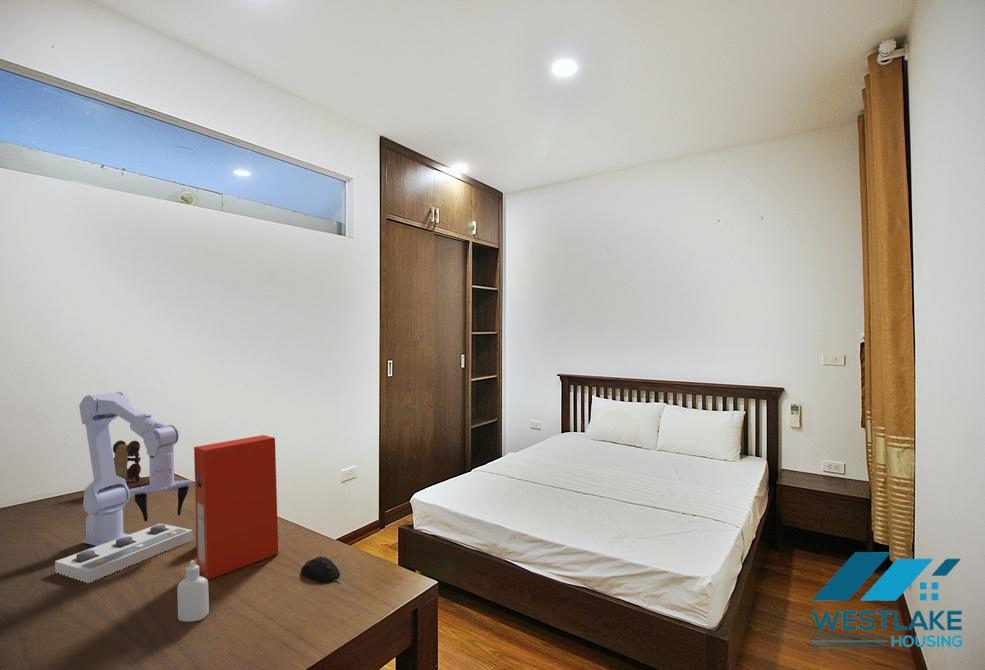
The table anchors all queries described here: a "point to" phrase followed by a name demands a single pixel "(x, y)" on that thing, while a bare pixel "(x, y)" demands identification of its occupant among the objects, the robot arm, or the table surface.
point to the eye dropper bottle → (193, 595)
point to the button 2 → (157, 529)
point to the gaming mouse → (321, 570)
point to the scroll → (122, 460)
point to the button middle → (123, 542)
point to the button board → (123, 553)
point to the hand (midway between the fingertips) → (162, 517)
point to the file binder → (235, 504)
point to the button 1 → (85, 556)
